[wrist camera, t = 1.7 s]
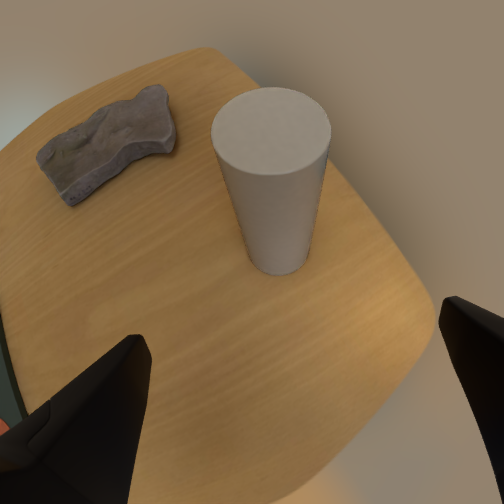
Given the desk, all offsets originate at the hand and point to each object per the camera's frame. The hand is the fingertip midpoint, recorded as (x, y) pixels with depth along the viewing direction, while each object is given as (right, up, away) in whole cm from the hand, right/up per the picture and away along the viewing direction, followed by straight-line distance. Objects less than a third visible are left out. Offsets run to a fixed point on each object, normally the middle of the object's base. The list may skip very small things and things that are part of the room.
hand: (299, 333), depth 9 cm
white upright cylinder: (+1, +3, +15) cm, 15 cm away
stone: (-15, +12, +20) cm, 28 cm away
